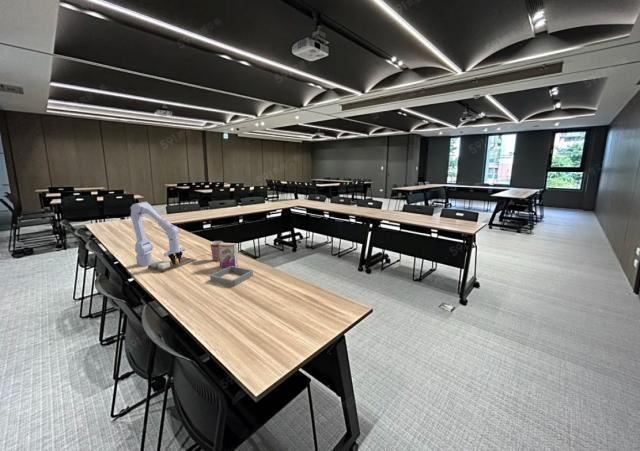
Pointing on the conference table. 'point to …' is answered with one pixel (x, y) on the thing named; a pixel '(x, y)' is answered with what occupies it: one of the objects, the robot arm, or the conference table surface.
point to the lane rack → (182, 262)
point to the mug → (215, 250)
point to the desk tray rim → (218, 279)
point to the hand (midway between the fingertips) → (176, 263)
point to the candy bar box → (228, 254)
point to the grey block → (155, 263)
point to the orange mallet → (167, 264)
